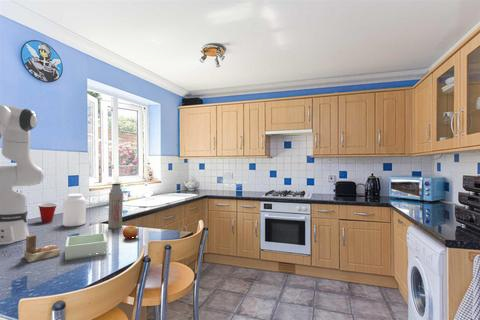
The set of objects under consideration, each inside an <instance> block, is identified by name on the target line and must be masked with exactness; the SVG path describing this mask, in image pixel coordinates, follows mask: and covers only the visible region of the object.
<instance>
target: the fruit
mask: <svg viewBox="0 0 480 320" xmlns="http://www.w3.org/2000/svg"><path fill="white" fill-rule="evenodd" d="M122 236H123V238H124V237H125V238H124V239H126V240H128V241H130V240H134V239H136V238H137V237H138V236H139V229H138V228H137V226H136V225H135V226H134V225H128V226H125V227H124V228H123V229H122ZM136 236H137V237H136ZM132 237H134V238H132Z"/></svg>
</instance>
